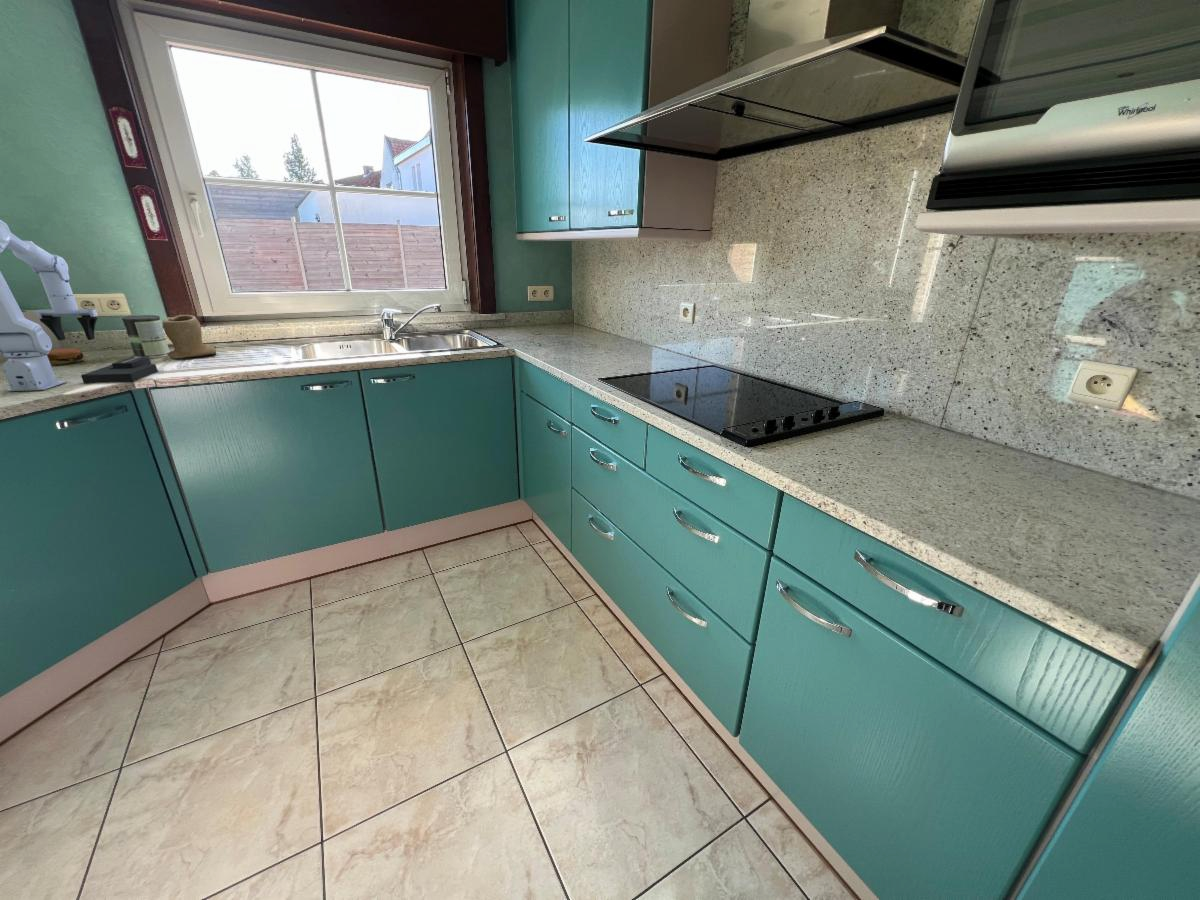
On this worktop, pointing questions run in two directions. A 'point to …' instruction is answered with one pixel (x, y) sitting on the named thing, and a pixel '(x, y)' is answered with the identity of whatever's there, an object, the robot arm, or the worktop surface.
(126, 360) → the pad
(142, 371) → the notch pad
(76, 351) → the burger
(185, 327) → the tan suede boot
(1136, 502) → the worktop surface
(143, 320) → the coffee can
